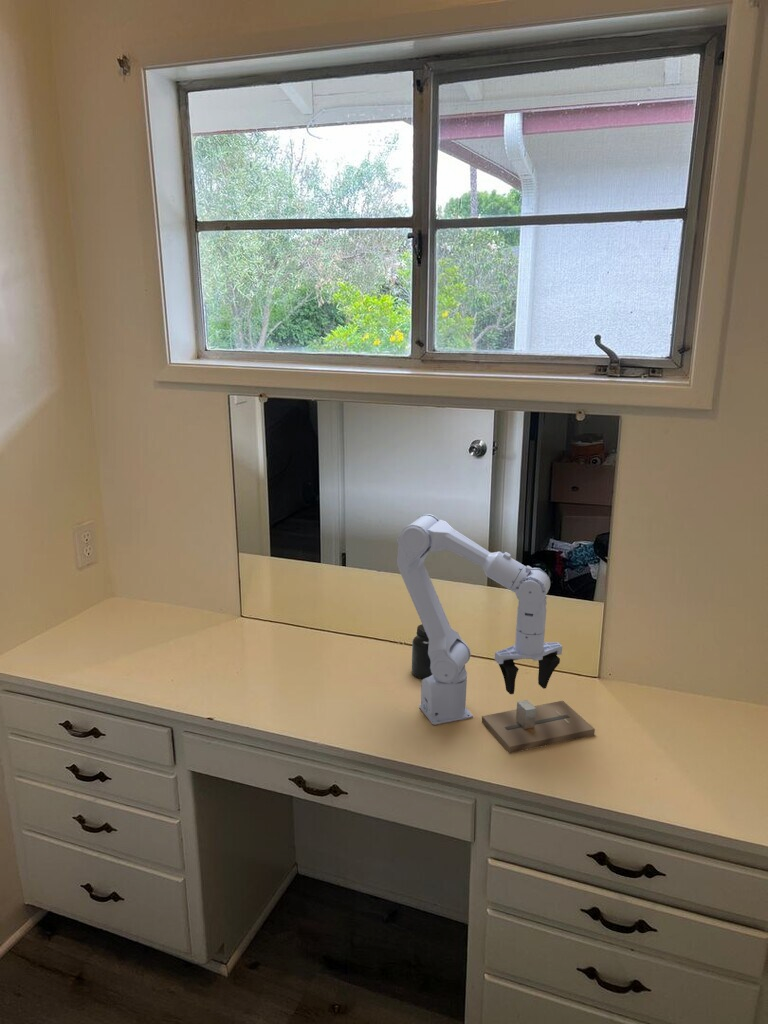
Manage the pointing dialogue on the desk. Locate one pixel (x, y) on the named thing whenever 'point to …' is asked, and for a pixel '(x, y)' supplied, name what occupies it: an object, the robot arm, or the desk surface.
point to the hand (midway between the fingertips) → (526, 689)
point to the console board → (538, 727)
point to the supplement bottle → (421, 654)
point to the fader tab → (525, 714)
